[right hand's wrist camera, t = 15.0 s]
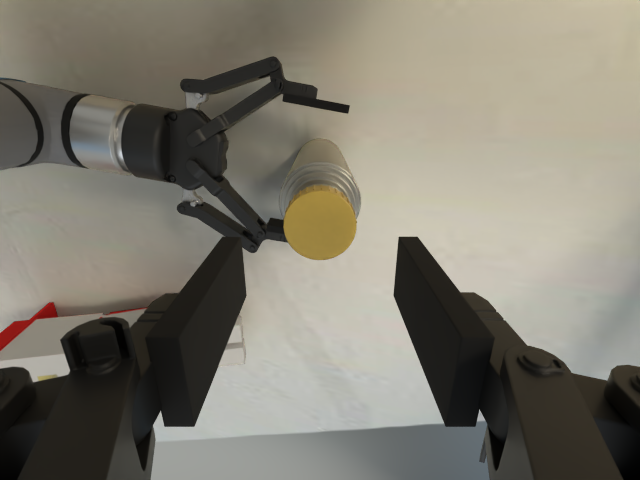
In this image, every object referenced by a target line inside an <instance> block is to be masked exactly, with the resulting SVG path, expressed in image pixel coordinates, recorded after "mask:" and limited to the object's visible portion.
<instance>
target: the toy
mask: <svg viewBox="0 0 640 480" xmlns="http://www.w3.org/2000/svg"><path fill="white" fill-rule="evenodd" d="M147 308H148V307H147ZM147 308H139V309H131V310H124V311H116V312H110V313H109V314H106V315H104V313H97V314H86V315H76V316H66V317H58V315H57V312H56V309H55V306H54V304H53V302H52V303H48V304H47V305H46V306H45V307H44V308H42V309H41V310H40V311H39V312H38V313H37V314H35V315H34V316H33V317H32V318H31V319H30V320H25V321H15V322H13V323H12V324H11V325H10V326H8V327H7V328H6V329H5V330H3V331H2V332H1V333H0V369H1V368H7V367H23V368H25V369H26V370H28V371H29V373H30V375H31V378H32V381H33V382H37V381H41V380H46V379H51V378H56V377H60V376H65V375H68V374H69V372H70V369H69V366H68V363H67V360H66V357H65V354H64V351H63V348H62V345H61V342H60V339H61V338H62V337H63V336H64V335H65V334H66V333H67V332H68V331H70V330H72V329H73V328H75V327H76V326H78V325H81V324H83V323H86V322H88V321H91V320H95V319H99V318H104V317H118V318H123V319H125V320H126V321H127V322H128V323H129V327H131V326H132V325H133V324H134V323H135V322H137V319H138V318H139V317H140V316H141V315H142V314H144V311H145V310H146V309H147ZM245 358H246V350H245V342H244V338H243V327H242V320H241V316H238V318H237V320H236V323H235V325H234V328H233V330H232V333H231V336H230V338H229V341H228V343H227V346H226V348H225V351H224V353H223V356H222V358H221V361H220V363H219V366H218V367H221V366H229V365H237V364H245Z"/></svg>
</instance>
